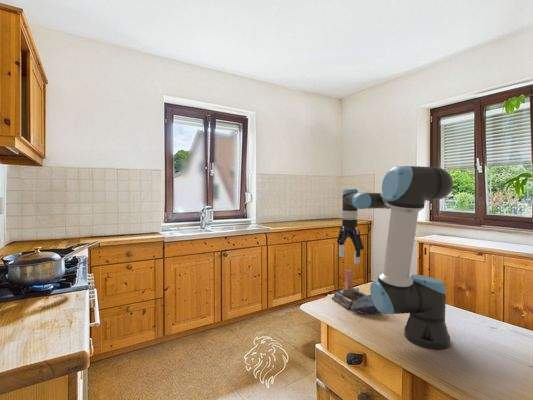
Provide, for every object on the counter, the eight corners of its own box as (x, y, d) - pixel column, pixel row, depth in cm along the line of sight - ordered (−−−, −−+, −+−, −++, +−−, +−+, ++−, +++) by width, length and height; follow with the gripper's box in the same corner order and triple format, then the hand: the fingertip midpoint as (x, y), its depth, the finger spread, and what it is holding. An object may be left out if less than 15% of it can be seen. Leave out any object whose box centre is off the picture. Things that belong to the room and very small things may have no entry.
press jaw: (358, 297, 145) (358, 270, 145) (343, 299, 142) (343, 272, 142) (354, 295, 149) (354, 268, 149) (338, 296, 146) (339, 269, 146)
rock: (391, 317, 125) (385, 304, 135) (386, 301, 124) (380, 289, 133) (357, 326, 128) (353, 312, 138) (351, 310, 127) (348, 298, 136)
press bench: (376, 306, 137) (376, 297, 137) (347, 310, 132) (347, 301, 132) (358, 296, 151) (358, 288, 151) (331, 299, 146) (332, 291, 146)
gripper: (371, 221, 134) (370, 265, 135) (342, 216, 158) (342, 254, 158) (358, 221, 132) (357, 266, 132) (330, 216, 156) (330, 255, 156)
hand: (349, 260), depth 145 cm, fingers open, 13 cm apart
